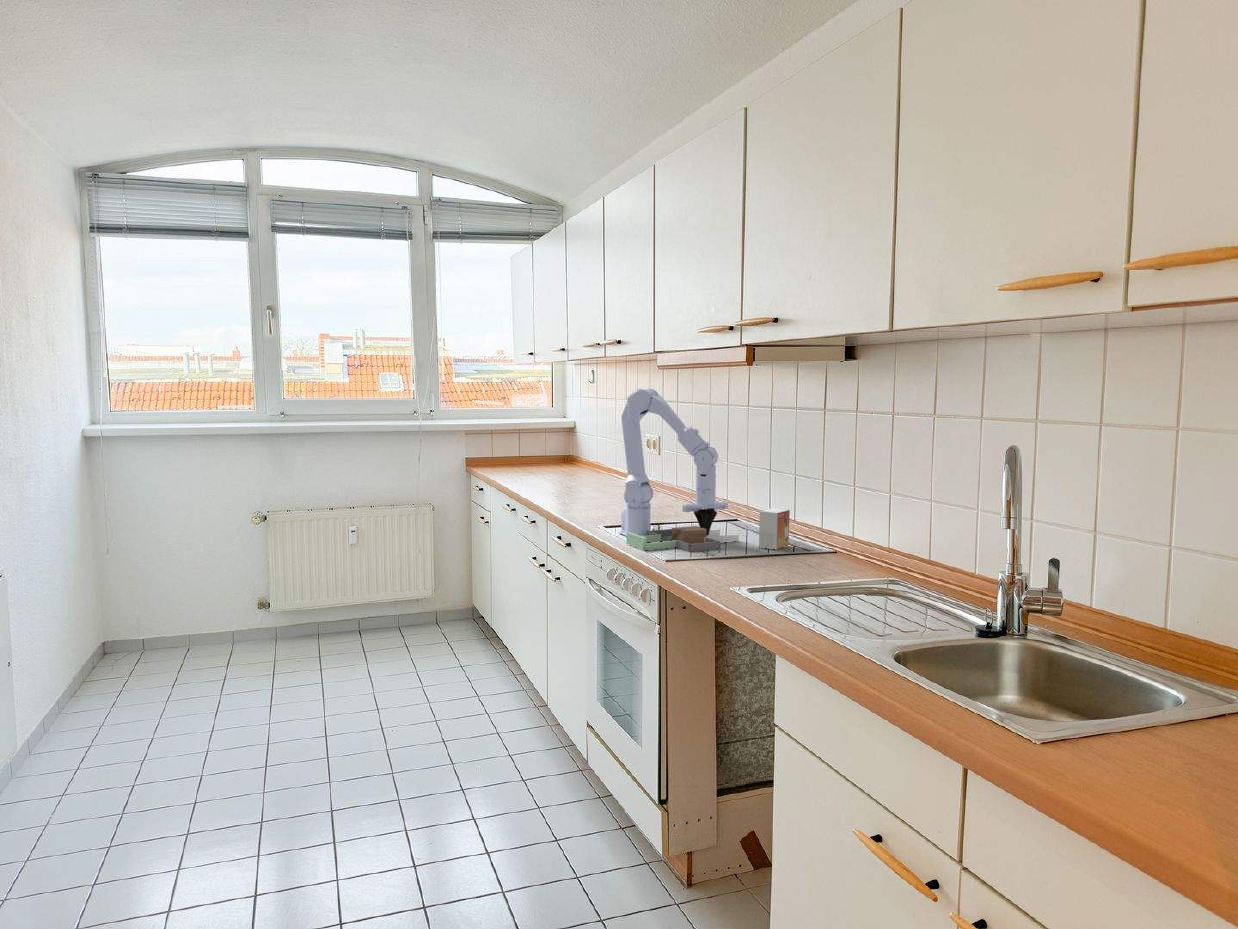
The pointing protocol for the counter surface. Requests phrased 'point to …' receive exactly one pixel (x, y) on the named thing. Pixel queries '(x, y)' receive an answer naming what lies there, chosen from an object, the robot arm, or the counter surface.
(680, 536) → the walnut block
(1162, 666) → the counter surface
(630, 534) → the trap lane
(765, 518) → the small box
